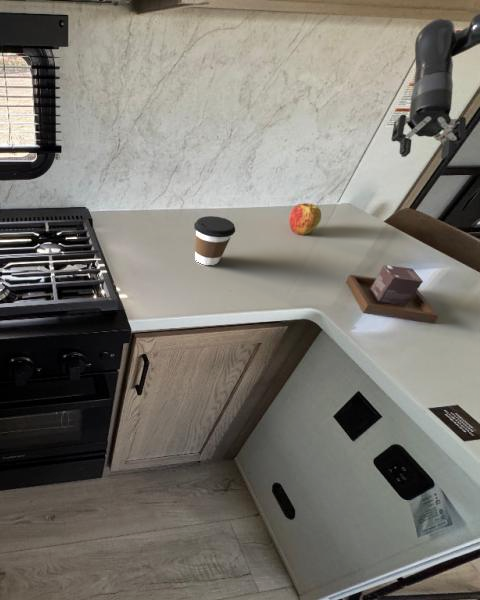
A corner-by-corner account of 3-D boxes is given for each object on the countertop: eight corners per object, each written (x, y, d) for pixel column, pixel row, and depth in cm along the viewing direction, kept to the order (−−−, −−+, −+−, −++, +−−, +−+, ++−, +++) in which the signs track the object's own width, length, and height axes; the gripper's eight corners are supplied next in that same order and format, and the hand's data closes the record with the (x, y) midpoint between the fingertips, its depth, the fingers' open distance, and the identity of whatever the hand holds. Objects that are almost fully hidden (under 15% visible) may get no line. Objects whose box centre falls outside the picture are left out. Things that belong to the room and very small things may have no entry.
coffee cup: (201, 273, 97) (210, 234, 89) (180, 255, 105) (187, 218, 98) (233, 266, 99) (245, 228, 92) (210, 249, 108) (219, 213, 101)
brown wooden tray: (406, 290, 89) (411, 282, 88) (433, 323, 79) (439, 315, 77) (345, 281, 93) (349, 274, 91) (363, 312, 82) (367, 305, 81)
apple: (283, 225, 122) (293, 197, 116) (312, 228, 119) (323, 200, 113) (285, 235, 115) (296, 206, 109) (316, 239, 112) (329, 210, 107)
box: (406, 307, 82) (424, 281, 78) (376, 302, 84) (392, 277, 80) (396, 293, 87) (413, 268, 83) (368, 289, 88) (383, 264, 84)
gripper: (408, 86, 87) (402, 145, 85) (478, 87, 83) (473, 149, 81) (388, 107, 94) (383, 162, 92) (452, 109, 90) (447, 166, 88)
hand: (425, 156), depth 87 cm, fingers open, 8 cm apart
